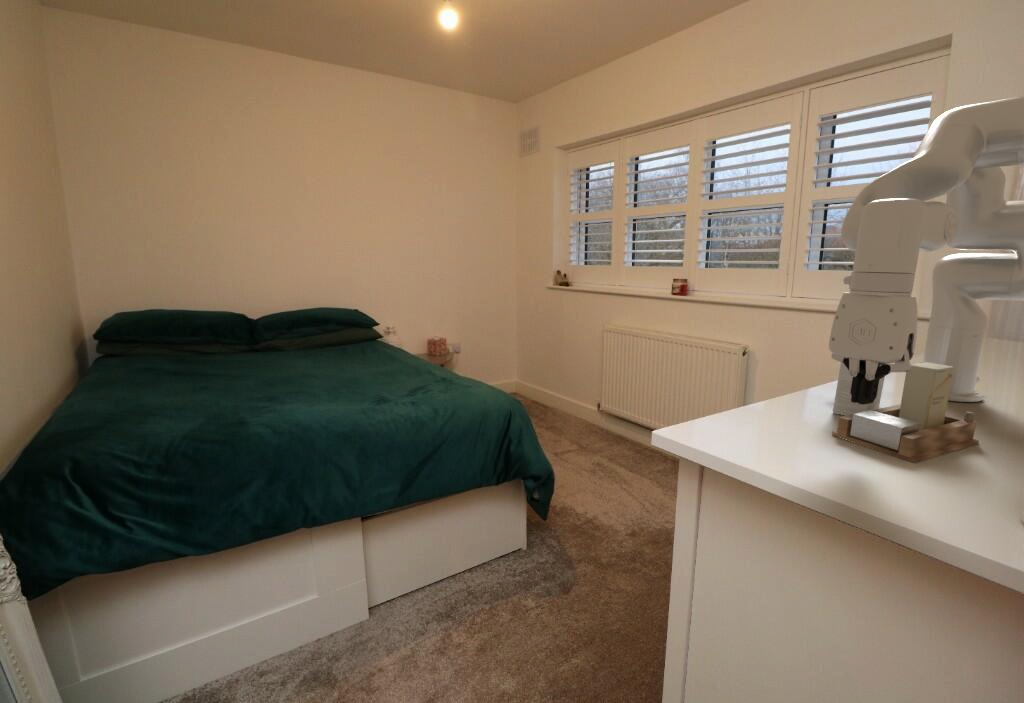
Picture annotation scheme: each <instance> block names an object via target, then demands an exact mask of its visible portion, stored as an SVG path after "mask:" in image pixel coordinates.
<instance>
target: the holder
mask: <svg viewBox="0 0 1024 703" xmlns="http://www.w3.org/2000/svg"><path fill="white" fill-rule="evenodd" d="M900 406H901V403H900V404H896V405H891V406H886V407H881V408H879V409H876V410H872V411H876V412H880V413H883V414H887V415H891V416H894V417H898V418H899V413H900ZM975 416H976V413H975V412H974V411H973V412H972V411H965V412H964V418H962V417H958V416H955V415H949V414H945V420H944V425H941V426H937V427H933V428H929V429H925V430H922V431H918V432H914V433H910V434H906V435H902V436H901V441H900V447H899V450H895V449H891V448H888V447H885V446H882V445H879V444H876V443H873V442H870V441H867V440H864V439H861V438H858V437H854V436H851V435H850V432H851V426H852V419H853V414H852V415H848V416H843V415H842V416H840V417H839V419H838V424H837V430H836V431H832V433H831V435H832V436H833V435H834V436H833V437H836V436H837V437H836V438H839V437H841V438H840V439H842V438H844V439H843V440H845V439H847V440H846V441H848V440H850V441H849V442H851V441H853V442H852V443H854V442H855V443H854V444H857V443H858V444H857V445H860V444H861V445H860V446H863V445H864V446H863V447H865V446H868V447H870V449H871V448H873V449H872V450H874V449H876V450H875V451H877V450H879V451H878V452H880V451H882V452H881V453H883V452H885V453H884V454H886V453H887V454H886V455H889V454H890V456H893V457H895V456H896V458H899V459H902V460H905V461H907V462H910V463H914V464H916V463H919V462H922V461H925V460H929V459H931V458H936V457H939V456H942V455H944V454H945V455H946V454H948V453H951V452H955V451H958V450H962V449H965V448H968V447H971V446H976V445H978V444H979V442H980V440H979V439H976V438H974V436H975V430H976V426H977V421H975ZM868 447H867V448H868Z"/></svg>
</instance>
